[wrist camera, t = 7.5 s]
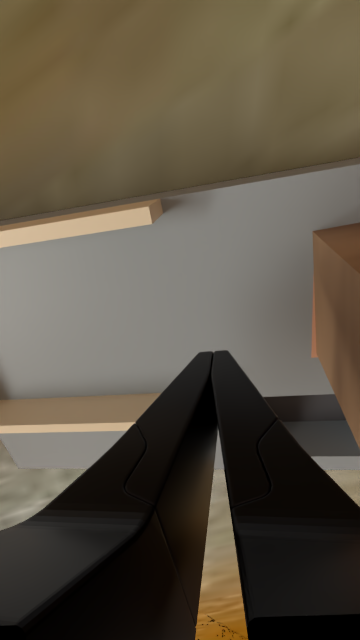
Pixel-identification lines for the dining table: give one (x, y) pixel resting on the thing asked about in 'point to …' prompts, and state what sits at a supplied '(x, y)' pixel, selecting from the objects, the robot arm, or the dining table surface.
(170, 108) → the dining table surface
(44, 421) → the deck
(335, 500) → the robot arm
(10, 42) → the dining table surface
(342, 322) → the block
